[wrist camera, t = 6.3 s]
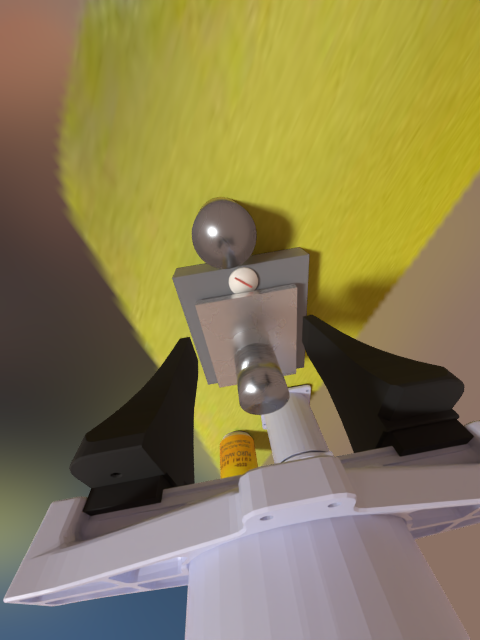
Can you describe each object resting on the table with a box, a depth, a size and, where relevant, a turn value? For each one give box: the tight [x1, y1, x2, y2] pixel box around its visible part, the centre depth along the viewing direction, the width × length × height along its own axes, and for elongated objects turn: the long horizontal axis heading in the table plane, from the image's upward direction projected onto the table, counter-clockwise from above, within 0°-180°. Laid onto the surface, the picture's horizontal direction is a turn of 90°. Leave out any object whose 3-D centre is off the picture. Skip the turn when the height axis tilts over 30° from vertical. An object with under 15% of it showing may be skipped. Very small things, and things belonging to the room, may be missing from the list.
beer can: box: [220, 431, 258, 479], centre depth 32 cm, size 6×6×15 cm
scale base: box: [172, 247, 309, 385], centre depth 23 cm, size 14×12×3 cm
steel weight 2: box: [235, 343, 290, 415], centre depth 20 cm, size 4×4×5 cm
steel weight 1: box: [192, 197, 257, 269], centre depth 16 cm, size 4×4×5 cm
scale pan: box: [195, 284, 297, 387], centre depth 21 cm, size 11×9×1 cm
